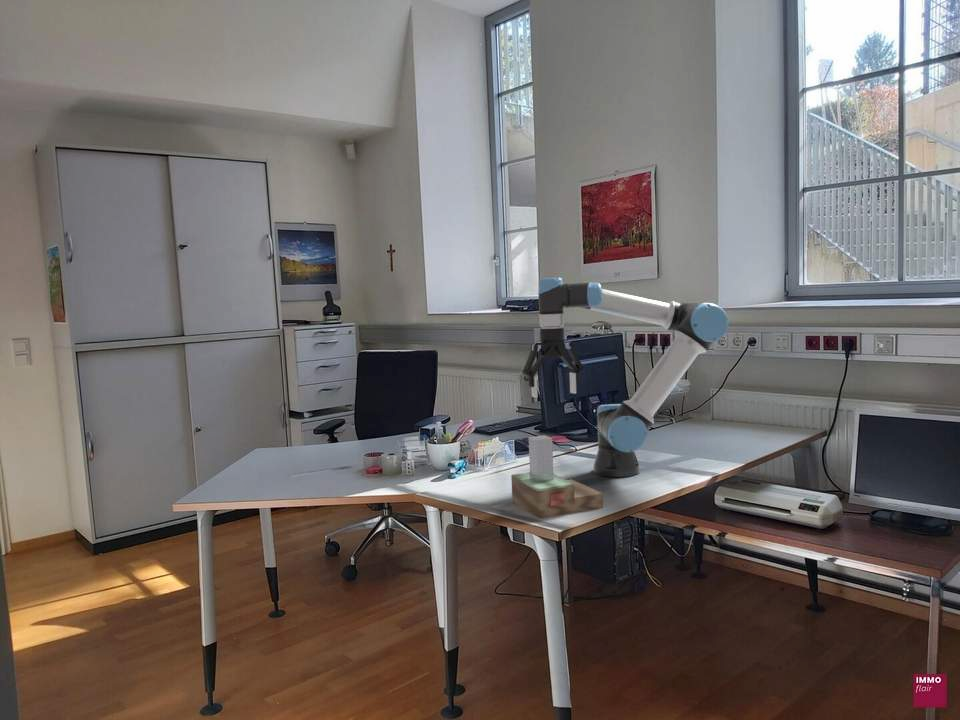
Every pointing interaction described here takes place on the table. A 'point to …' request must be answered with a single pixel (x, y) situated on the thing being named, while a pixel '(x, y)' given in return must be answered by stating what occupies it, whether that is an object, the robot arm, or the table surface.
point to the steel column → (541, 458)
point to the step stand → (553, 495)
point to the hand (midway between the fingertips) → (554, 395)
